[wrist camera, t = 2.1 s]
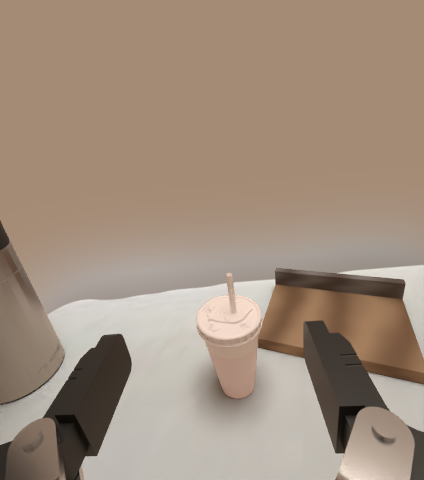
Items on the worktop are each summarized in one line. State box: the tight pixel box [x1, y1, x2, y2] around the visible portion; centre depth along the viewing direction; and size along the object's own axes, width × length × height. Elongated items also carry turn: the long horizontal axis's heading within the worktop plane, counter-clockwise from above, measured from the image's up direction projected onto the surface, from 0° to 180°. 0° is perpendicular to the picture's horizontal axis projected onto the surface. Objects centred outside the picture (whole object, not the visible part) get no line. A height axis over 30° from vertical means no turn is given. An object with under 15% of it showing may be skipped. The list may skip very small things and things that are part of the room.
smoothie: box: [196, 273, 263, 399], centre depth 26 cm, size 6×6×14 cm
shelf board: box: [258, 268, 424, 384], centre depth 34 cm, size 17×13×4 cm
